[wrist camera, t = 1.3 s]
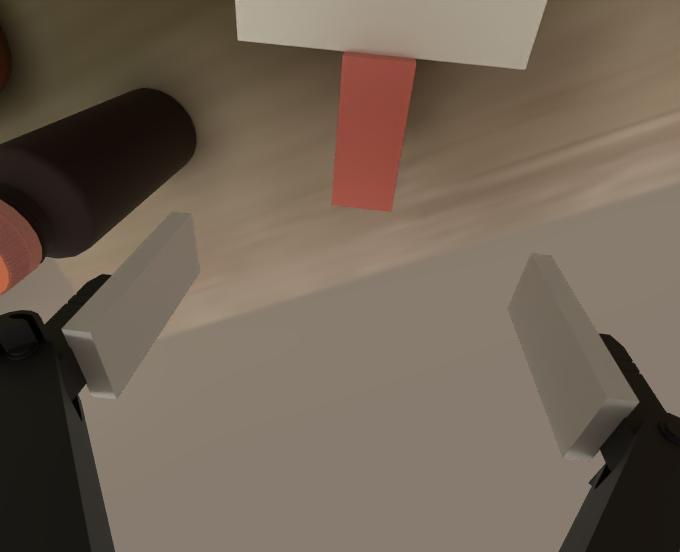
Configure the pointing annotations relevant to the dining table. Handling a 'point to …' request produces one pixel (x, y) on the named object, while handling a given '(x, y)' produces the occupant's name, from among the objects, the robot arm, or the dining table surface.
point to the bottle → (85, 176)
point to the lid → (389, 66)
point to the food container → (4, 60)
